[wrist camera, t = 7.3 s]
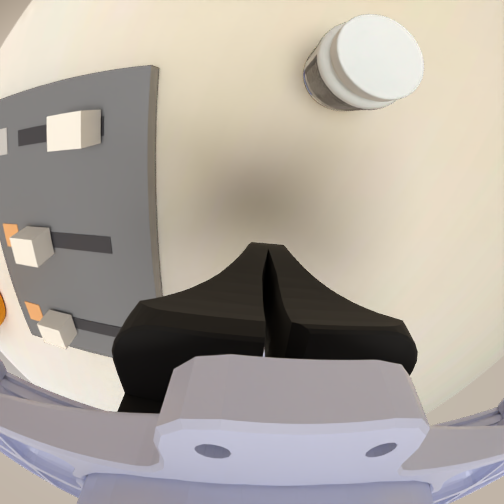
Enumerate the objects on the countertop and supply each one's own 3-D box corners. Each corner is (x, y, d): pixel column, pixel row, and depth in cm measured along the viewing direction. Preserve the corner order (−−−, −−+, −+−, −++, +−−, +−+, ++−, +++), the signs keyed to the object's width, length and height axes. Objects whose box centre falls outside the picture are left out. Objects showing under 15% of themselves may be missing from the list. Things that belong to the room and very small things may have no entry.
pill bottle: (364, 118, 17) (424, 124, 10) (297, 102, 17) (319, 92, 10) (374, 57, 15) (436, 30, 8) (307, 38, 15) (334, -8, 8)
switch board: (170, 358, 28) (166, 369, 26) (37, 326, 28) (31, 334, 27) (159, 68, 16) (150, 64, 15) (-4, 103, 17) (-15, 105, 15)
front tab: (100, 143, 17) (81, 148, 15) (68, 146, 17) (47, 151, 15) (100, 109, 16) (80, 110, 14) (67, 114, 16) (46, 116, 14)
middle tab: (54, 253, 21) (38, 267, 19) (32, 250, 21) (15, 263, 19) (49, 227, 20) (31, 240, 18) (26, 226, 20) (9, 237, 18)
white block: (77, 333, 25) (66, 349, 23) (55, 327, 25) (44, 342, 23) (71, 314, 24) (58, 330, 22) (49, 309, 24) (36, 324, 22)
